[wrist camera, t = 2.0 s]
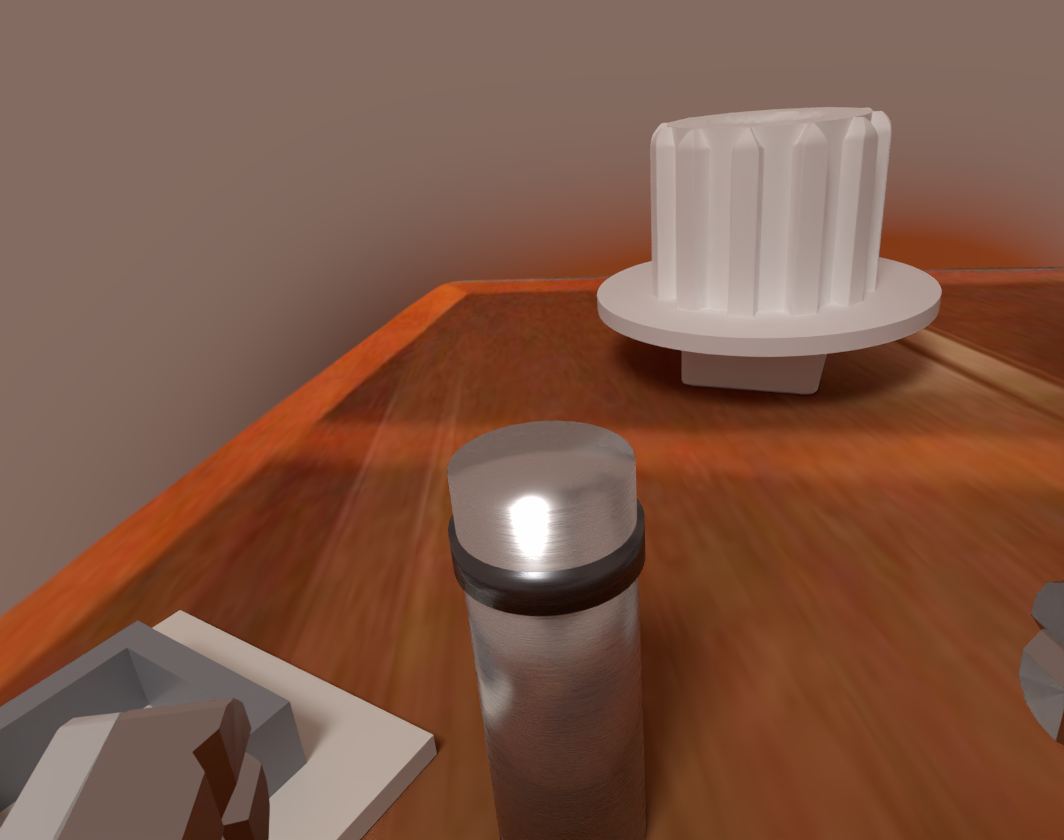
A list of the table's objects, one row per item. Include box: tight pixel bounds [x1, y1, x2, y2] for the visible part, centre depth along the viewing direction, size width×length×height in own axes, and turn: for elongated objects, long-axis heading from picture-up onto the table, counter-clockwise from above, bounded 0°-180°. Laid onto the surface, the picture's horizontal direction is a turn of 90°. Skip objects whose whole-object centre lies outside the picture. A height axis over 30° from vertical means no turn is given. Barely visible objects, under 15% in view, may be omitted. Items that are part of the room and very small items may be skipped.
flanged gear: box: [597, 107, 941, 395], centre depth 59 cm, size 25×25×19 cm
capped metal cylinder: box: [447, 421, 646, 840], centre depth 24 cm, size 5×5×14 cm
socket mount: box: [0, 610, 437, 840], centre depth 27 cm, size 16×16×4 cm
